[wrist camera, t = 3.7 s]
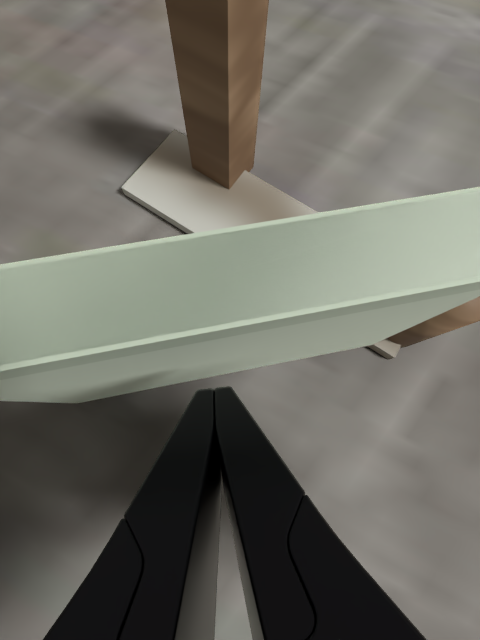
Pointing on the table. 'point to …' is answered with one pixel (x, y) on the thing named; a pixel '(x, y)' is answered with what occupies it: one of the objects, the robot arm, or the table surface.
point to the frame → (231, 140)
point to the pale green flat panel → (232, 297)
